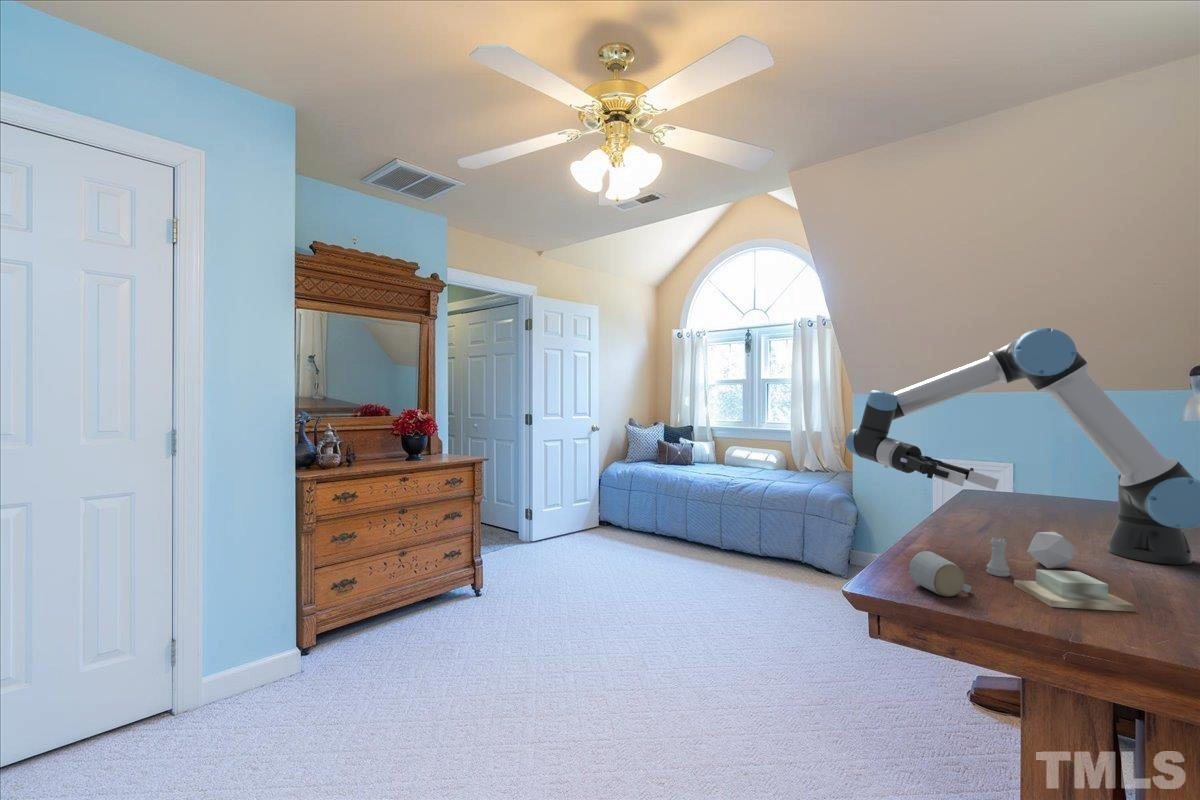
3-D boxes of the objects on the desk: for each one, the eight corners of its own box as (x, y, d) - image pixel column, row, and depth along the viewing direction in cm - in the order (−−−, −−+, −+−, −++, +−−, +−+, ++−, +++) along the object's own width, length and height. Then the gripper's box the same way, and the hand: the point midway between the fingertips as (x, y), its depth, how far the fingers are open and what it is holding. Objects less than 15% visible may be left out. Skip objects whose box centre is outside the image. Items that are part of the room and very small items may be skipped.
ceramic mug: (935, 599, 111) (936, 561, 111) (907, 585, 118) (909, 550, 118) (981, 598, 112) (983, 561, 112) (951, 584, 120) (953, 550, 120)
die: (1081, 576, 128) (1086, 538, 131) (1047, 557, 128) (1054, 520, 131) (1048, 578, 135) (1053, 542, 139) (1016, 560, 135) (1023, 525, 139)
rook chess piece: (989, 575, 125) (989, 539, 125) (983, 570, 130) (984, 535, 130) (1013, 578, 124) (1013, 542, 124) (1007, 572, 128) (1007, 537, 128)
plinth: (1087, 589, 117) (1088, 569, 117) (1133, 611, 105) (1134, 589, 105) (1014, 585, 119) (1014, 565, 119) (1051, 606, 107) (1051, 584, 107)
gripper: (924, 472, 158) (1004, 500, 139) (865, 465, 146) (943, 494, 128) (932, 447, 157) (1013, 471, 138) (873, 437, 146) (953, 462, 127)
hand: (980, 482), depth 133 cm, fingers open, 13 cm apart
